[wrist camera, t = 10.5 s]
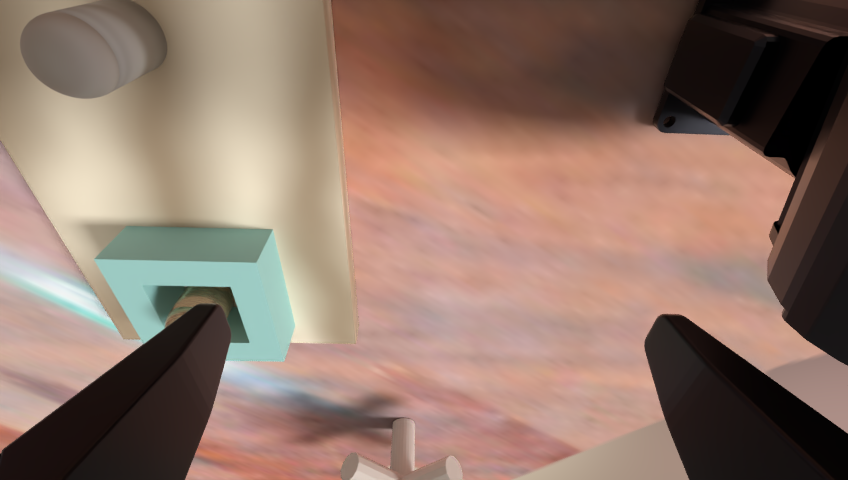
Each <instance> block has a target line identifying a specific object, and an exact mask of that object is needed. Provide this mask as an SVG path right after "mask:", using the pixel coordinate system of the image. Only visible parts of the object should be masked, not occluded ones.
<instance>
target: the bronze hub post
mask: <svg viewBox="0 0 848 480" xmlns="http://www.w3.org/2000/svg"><path fill="white" fill-rule="evenodd" d="M200 303H214V304H219V305H221V306H222V308H223V310H224V313H225V316H226V318H227V317H228V315H229V313H230V311H231V309H232V307H233V305H234V303H235V299H234V296H233V293H232V290H231V287H208V286H187V287H186V288H185V290H184V291H183V293H182V294H181V296H180V297H179V299H178V300H177V302H176V303H175V305H174V306H173V308H172V309H171V311H170V313H169V314H168V316H167V318H166V321H165V328H166V327H167V326H168V325H170V324H171V323H172V322H174V321H175V320H176V319H178V318H179V317H180V316H182V315H183V314H184V313H186V312H187V311H188V310H190V309H191V308H192V307H194V306H195V305H197V304H200Z"/></svg>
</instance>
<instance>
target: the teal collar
mask: <svg viewBox="0 0 848 480" xmlns="http://www.w3.org/2000/svg"><path fill="white" fill-rule="evenodd" d="M94 261H95V262H96V264H97V266H98V267H99V269H100V271H101V273H102V274H103V276H104V278H105V279H106V281H107V283H108V284H109V286H110V288H111V289H112V291H113V293H114V295H115V296H116V298H117V300H118V301H119V303H120V305H121V306H122V308H123V310H124V312H125V313H126V315H127V317H128V318H129V320H130V322H131V323H132V325H133V327H134V329H135V330H136V332H137V334H138V335H139V337H140V339H141V340H142V342H143V344H144V343H146V342H147V341H148V340H150V339H151V338H152V337H154V336H155V335H156V334H158V333H159V332H160V331H162V330H163V329H164V328H165V321H166V318H167V316H168V314H169V313H170V311H171V309H172V308H173V306H174V305H175V303H176V302H177V300H178V299H179V297H180V296H181V294H182V293H183V291H184V290H185V287H184V286H208V287H231V290H232V293H233V296H234V299H235V302H236V304H237V307H232V309H231V311H230V313H229V315H228V317H227V321H228V324H229V326H230V329H231V342H230V346H229V349H228V353H227V357H226V360H225V361H282V362H284V360H285V357H286V354H287V351H288V348H289V344H290V341H291V338H292V335H293V332H294V329H295V322H294V318H293V313H292V309H291V305H290V301H289V296H288V292H287V288H286V283H285V279H284V275H283V271H282V266H281V262H280V258H279V253H278V249H277V245H276V241H275V236H274V232H273V229H235V228H192V227H149V226H126V227H125V228H124V229H123V230H122V231H121V232H120V233H119V234H118V235H117V236H116V237H115V238H114V239H113V240H112V241H111V242H110V243H109V244H108V245H107V246H106V247H105V248H104V249H103V250H102V251H101V252H100V253H99V254H98V255H97V256H96V257H95V258H94Z"/></svg>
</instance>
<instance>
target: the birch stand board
mask: <svg viewBox="0 0 848 480" xmlns="http://www.w3.org/2000/svg"><path fill="white" fill-rule="evenodd" d="M0 140H1V142H2V144H3V145H4V147H5V148H6V150H7V152H8V153H9V155H10V156H11V158H12V160H13V161H14V163H15V165H16V166H17V168H18V169H19V171H20V173H21V174H22V176H23V177H24V179H25V181H26V182H27V184H28V186H29V187H30V189H31V190H32V192H33V194H34V195H35V197H36V199H37V200H38V202H39V203H40V205H41V207H42V208H43V210H44V211H45V213H46V215H47V216H48V218H49V220H50V221H51V223H52V224H53V226H54V228H55V229H56V231H57V232H58V234H59V236H60V237H61V239H62V241H63V242H64V244H65V245H66V247H67V249H68V250H69V252H70V253H71V255H72V257H73V258H74V260H75V262H76V263H77V265H78V266H79V268H80V270H81V271H82V273H83V274H84V276H85V278H86V279H87V281H88V283H89V284H90V286H91V287H92V289H93V291H94V292H95V294H96V295H97V297H98V299H99V300H100V302H101V304H102V305H103V307H104V308H105V310H106V312H107V313H108V315H109V317H110V318H111V320H112V321H113V323H114V325H115V326H116V328H117V329H118V331H119V333H120V334H121V336H122V338H123V339H139V340H141V339H140V337H139V335H138V334H137V332H136V330H135V329H134V327H133V325H132V323H131V322H130V320H129V318H128V317H127V315H126V313H125V312H124V310H123V308H122V306H121V305H120V303H119V301H118V300H117V298H116V296H115V295H114V293H113V291H112V289H111V288H110V286H109V284H108V283H107V281H106V279H105V278H104V276H103V274H102V273H101V271H100V269H99V267H98V266H97V264H96V262H95V261H94V258H95V257H96V256H97V255H98V254H99V253H100V252H101V251H102V250H103V249H104V248H105V247H106V246H107V245H108V244H109V243H110V242H111V241H112V240H113V239H114V238H115V237H116V236H117V235H118V234H119V233H120V232H121V231H122V230H123V229H124V228H125V227H126V226H149V227H192V228H235V229H273V232H274V236H275V241H276V245H277V249H278V253H279V258H280V262H281V266H282V271H283V275H284V279H285V283H286V288H287V292H288V296H289V301H290V305H291V309H292V313H293V318H294V322H295V329H294V332H293V335H292V338H291V341H290V343H330V344H356V340H357V333H358V327H359V322H358V310H357V298H356V286H355V275H354V263H353V251H352V240H351V228H350V216H349V204H348V193H347V181H346V169H345V157H344V146H343V134H342V122H341V110H340V99H339V87H338V75H337V63H336V52H335V40H334V28H333V16H332V5H331V0H0ZM184 287H185V288H186V287H187V286H184ZM233 307H237V304H236V302H235V303H234V305H233Z"/></svg>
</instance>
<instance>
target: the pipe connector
mask: <svg viewBox="0 0 848 480" xmlns="http://www.w3.org/2000/svg"><path fill="white" fill-rule="evenodd" d="M414 456H415V423H414V421H413V420H411V419H408V418H400V419H396V420H395V421H394V422H393V428H392V446H391V463H390V469H389V468H387V467H385V466H383V465H381V464H379V463H377V462H375V461H373V460H370V459H368V458H366V457H364V456H362V455H360V454H358V453H356V452H355V453H351V454H350V455H348V456H347V457H346V459H345V461H344V462H343V465H342V468H341V478H342V480H462V477H463V474H462V469H461V466H460V464H459V462H458V460H457V459H456V458H455V457H454V456H447V457H445V458H443V459H440V460H438V461H436V462H433V463H431V464H429V465H426V466H424V467H421V468H419V469H417V470H414Z"/></svg>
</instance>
